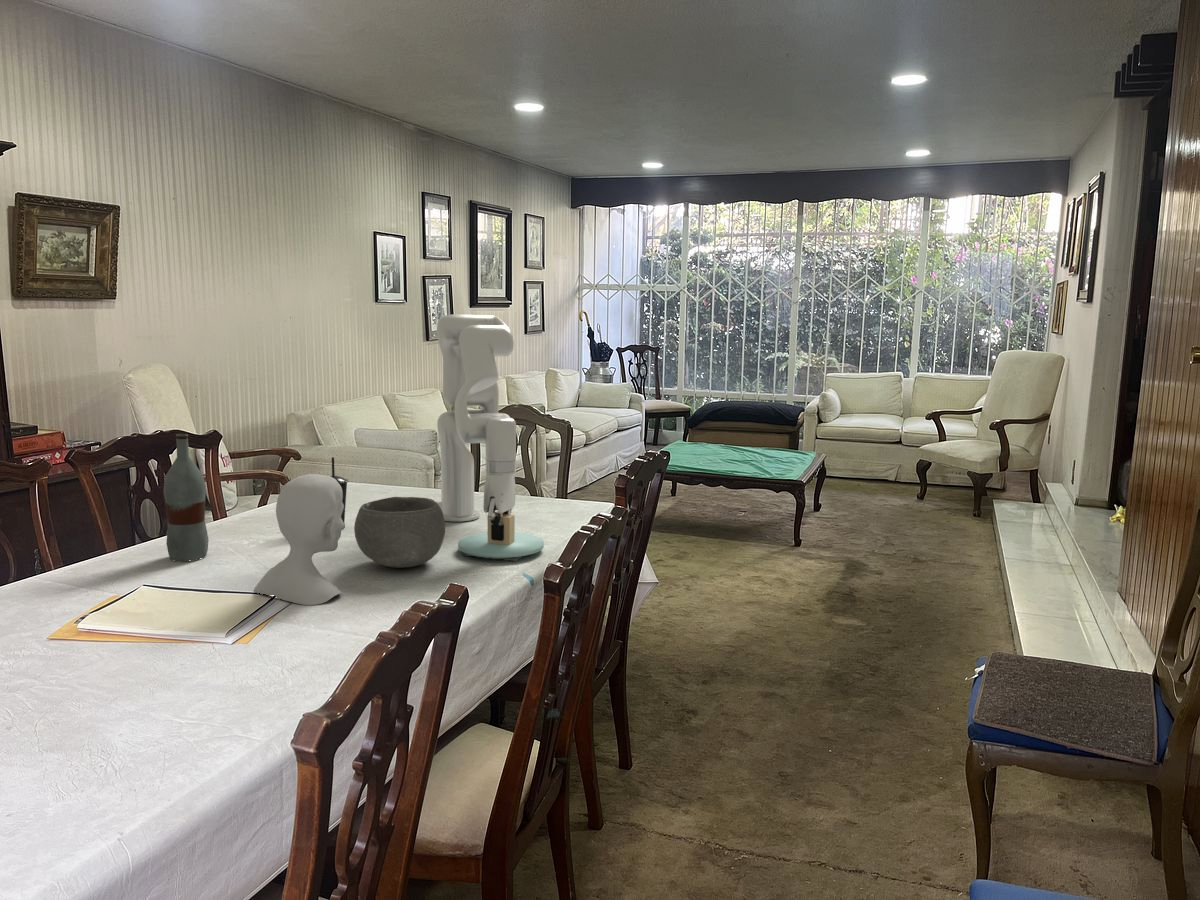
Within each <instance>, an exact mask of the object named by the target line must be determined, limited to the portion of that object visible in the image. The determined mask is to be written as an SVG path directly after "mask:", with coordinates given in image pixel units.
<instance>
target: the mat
mask: <svg viewBox="0 0 1200 900" xmlns="http://www.w3.org/2000/svg"><path fill="white" fill-rule="evenodd" d="M464 555H466V556H465V557H470V556H473V555H469V554H466V553H463V556H464ZM476 558H480V557H479V556H477V557H476ZM519 558H520V559H521V558H523V557H522V556H520V557H510V558H495V559H494V560H499V559H504V560H503V561H508V560H514V561H513V562H517V561H518V560H520V559H519ZM486 559H489V558H488V557H487V558H486ZM516 560H517V561H516Z"/></svg>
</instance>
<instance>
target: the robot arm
mask: <svg viewBox="0 0 1200 900" xmlns="http://www.w3.org/2000/svg"><path fill="white" fill-rule="evenodd" d="M436 337H437V341H438V345H439V348H440V351H441V354H442V395H443V400H444V402H445V403H446V404H447V405H449V406H453V407H454V410H448V411H444V412H443V413H441V414H440V415H439V416H438V418H437V421H436V422H437V423H436V425H437V426H436V427H437V435H438V438H439V439H438V440H439V445H440V447H439V448H440V449H439V450H440V486H441V488H440V490H441V495H440V497H441V499H440V500H441V501H435V502H436V503H437V504H438V505H439V506H440V508H441V510H442V512H443V515H444V520H445V522H451V523H453V522H454V523H455V522H456V523H458V522H462V523H463V522H469V521H470V522H471V521H474V520H477V519H479V518H480V512H479V511H477V510H475V459H474V456H473V454H472V452H471V451H470V449H469V448H467V446H466V444H482V443H483V444H485V473H486V474H485V479H484V486H483V487H484V488H483V505H482V506H483V507H482V508H483V512H484V513H485V514H486V513H487V519H488V518H489V519H490V520H491V539H492V540H498V541H503V540H504V525H502V521H503V514H509V515H512V510H513V508H514V507H515V505H516V477H515V474H516V473H517V422H516V420H515V419H514V418H512V417H510V415H509V414H507V413H504V412H499V402H500V401H499V400H500V399H499V396H500V394H499V392H500V391H499V385H498V379H499V372H498V367H497V361H496V358H495V357H508V356H510V355H512V352H513V350H514V344H515V342H514V336H513V333H512V331H511V328H510V327H509V326H508V325H507V324H506V323H505V322H504V321H503V320H502V319H501V318H500V317H498V316H496V315H492V314H468V313H467V314H465V313H462V314H461V313H457V314H456V313H454V314H446V315H443V316H441V317H440V318H439V319H438V321H437V324H436ZM473 406H478V407H480V409H468V407H473ZM496 515H499V518H498V516H496Z"/></svg>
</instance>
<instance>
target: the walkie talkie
mask: <svg viewBox="0 0 1200 900" xmlns="http://www.w3.org/2000/svg"><path fill="white" fill-rule="evenodd" d="M335 473H336V472H335V457H334V456H333V457H331V475H329V476H330V477H332V478H334V479H335V480H336V481H337V482H338V483H339V484H340V486H341V488H342V492H343V499H342V503H343V505H344V508H343V512H342V515H341V518H342V520H343V523H344V524H345V519H346V518H345V517H346V503H347V489H348V482H349V480H348V478H345V477H342V476H339V475H336V474H335ZM343 530H344V529H342V530H341V531H343Z"/></svg>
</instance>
